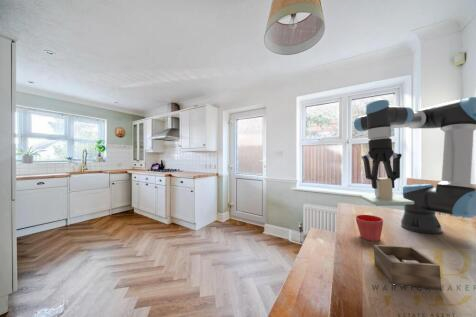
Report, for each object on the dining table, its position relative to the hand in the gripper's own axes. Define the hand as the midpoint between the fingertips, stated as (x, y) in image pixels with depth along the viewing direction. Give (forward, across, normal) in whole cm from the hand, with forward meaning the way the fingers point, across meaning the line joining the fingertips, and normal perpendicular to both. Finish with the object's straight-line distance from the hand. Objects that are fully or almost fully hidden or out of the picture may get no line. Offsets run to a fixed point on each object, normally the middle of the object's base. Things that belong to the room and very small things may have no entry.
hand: (383, 196), depth 74 cm
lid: (+2, 0, 0) cm, 2 cm away
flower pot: (+24, 0, -16) cm, 29 cm away
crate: (+23, +2, +14) cm, 27 cm away
